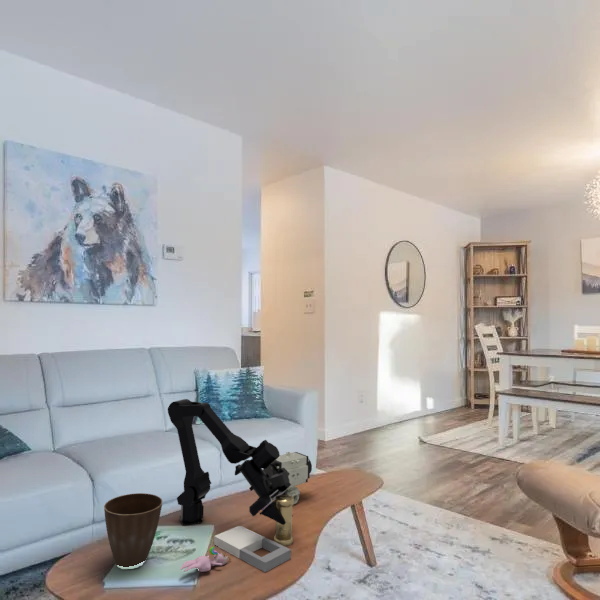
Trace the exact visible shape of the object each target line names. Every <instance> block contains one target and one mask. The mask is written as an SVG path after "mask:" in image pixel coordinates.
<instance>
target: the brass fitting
mask: <svg viewBox="0 0 600 600" xmlns="http://www.w3.org/2000/svg"><path fill="white" fill-rule="evenodd" d="M275 499H276V505H277V508H278V510H279V511H280V513H281V514H282V516H283V518H284V520H285V522H286V523H285V524H284V525H282V524H280V523H278V522H277V521H275V534H274V536H273V541H274V542H276V543H278V544H280V545H282V546H284V547H289V546H291V545H292V544H293V540H294V536H293V534H292V533H293V532H292V531H293V530H292V529H293V527H292V526H293V517H292V515H293V506H294V505H295V504H294V497H293V496H290V495H278V496H276V498H275Z"/></svg>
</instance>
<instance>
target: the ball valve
mask: <svg viewBox="0 0 600 600" xmlns="http://www.w3.org/2000/svg"><path fill="white" fill-rule="evenodd" d="M283 467H284V468H285V469H286V470H287V471H288V472H289V473H290V475H289V476H288V477H289V480H290V481H289V482H290V484H291V486H289V487H288V488H287V489H286V490H288V492H287V495H290V496H293V497H294V504H293V505H295V504H297V503H298V502H299V499H300V495H301V494H300V493H301V492H300V489H299V488H298V487H297V486H298V485H302V484H305V483H309V481H308V480H309V479H310V474H311V473H312V470H313V465H312V462H311V460H310V458H309V456H308V455H306V454H303V453H300V452H298V451H293V452H290V451H287V452H285V453H283V454H281V455H279V457H278V458H277V459H276V460H275V461H274V462H273V463H272V464H271V465H270V466H269V467H268V468H266V469H263V468H262V469H263V471H264V472H265V473H266V474H267V473H270V474H271V475H272V476H273V475H275V474H278V470H279V469H281V468H283ZM286 490H285V491H286Z"/></svg>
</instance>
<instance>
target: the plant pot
mask: <svg viewBox="0 0 600 600" xmlns="http://www.w3.org/2000/svg"><path fill="white" fill-rule="evenodd" d="M162 506H163V499H162V498H161V497H160V496H158V495H156V494H151V493H143V492H141V493H127V494H122V495H120V496H119V495H118V496H116V497H113V498H111V499H109V500H108V501H107V502H106V503H105V504H104V505H103V509H104V520H105V528H106V532H107V538H108V543H109V547H110V551H111V553H112V557H113V561H114V563H115V566H116V565H119V566H123V567H129V566H134V565H137V564H139V563H141V562H143V561H145V560H146V561H147V559H148V556H149V553H150V551H151V549H152V546H153V543H154V540H155V536H156V533H157V529H158V525H159V521H160V517H161V513H162V512H161V511H162ZM146 558H147V559H146Z"/></svg>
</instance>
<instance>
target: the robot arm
mask: <svg viewBox="0 0 600 600" xmlns="http://www.w3.org/2000/svg"><path fill="white" fill-rule="evenodd" d="M167 414H168V417H169V420H170V422H171V423H172V425H173V426H174V427H175V428H176V431H177V435H178V440H179V444H180V445H179V446H180V451H181V455H182V459H183V464H184V470H185V474H184V480H183V492H181V493H180V495H178V496H177V497H176V501H177V505H180V515H179V520H180V522H181V526H189V525H196V524H202V523H203V521H204V520H203V518H204V508H205V506H204V504H203V501H202V500H204V499H205V498H206V496H207V495H208V493H209V492H210V490H211V485H212V481H211V479H210V473H209V471H206V472H205V471H204V470H203V468H202V466H201V462H200V458H199V452H198V448H197V442H196V438H195V432H194V429H193V422H194V417H197V418H199V420H200V421H201V422H202V423H203V425H205V427H206V428H207V429H208V430H209V432H210V433H211V435H213V436H214V438H215V439H216V440H217V441H218V443H219V445H220V447H221V451H222V453H223V455H224V457H225V458H226V459H227V462H229V463H230V464H234V465H236V464H237V465H236V466H235V470H234V476H238V475H240V474H242V476H243V477H244V478H245V480H246V482H248V484H249V486H250V487H249V490H250V491H251V492H252V491H254V492H255V494H256V495H257V497H258V498H257V500H255V501H254V502H253V503H252V504H251V505H250V506H249V510H248V512H249V513H250V514H251V516H252V517H255V516H256V515H257V514H259V515H260V516H261V515H262V516H265V517H267V518H268V519H270V520H273V521H275V522H276V521H277V522H278V523H280V524H282V525H284V524H285V523H286V522H285V520H284V518H283V516H282V514H281V513H280V511H279V510H278V508H277V505H276V499H275V498H276V496H278V495H287V492H288V490H286V489H287V488H288V487H289V486H291V484H290V482H289V481H290V480H289V477H288V476H289V475H290V473H289V472H288V471H287V470H286V469H285V468H284V467H283V468H281V469H279V470H278V474H275V475H273V476H272V475H271V474H270V473H267V474H266V473H265V472H264V471H263V469H266V468H268V467H269V466H270V465H271V464H272V463H273V462H274V461H275V460H276V459H277V458H278V457H279V455H280V451H279V449H278V447H277V446H276V445H274V444H273V443H272V442H269V441H268V440H267V439H264V440H262V441H261V442H260V443H259V445H258V446H257V447H255V446H253V445H250V444H249V443H247V441H245V440H244V438H242V437H240V436H238V435H236V434H234V433H233V432H232V431H231V430H230V429H229V427H228V426H227V425H226V424H225V423H224V422H223V420H222V419H221V418H220V417H219V416H218V415H217V413H216V412H215V411H214V410H213V408H211V405H210V404H209V403H207V402H200V401H191V400H190V399H188V398H184V399H179V400H175V401H172V402H171V403H170V404H169V405H168V407H167ZM249 458H251V459H249ZM242 461H243V462H242ZM240 462H242V463H241V464H239V463H240ZM285 490H286V491H285ZM260 511H261V512H260ZM293 516H294V515H293V514H292V518H293Z"/></svg>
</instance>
